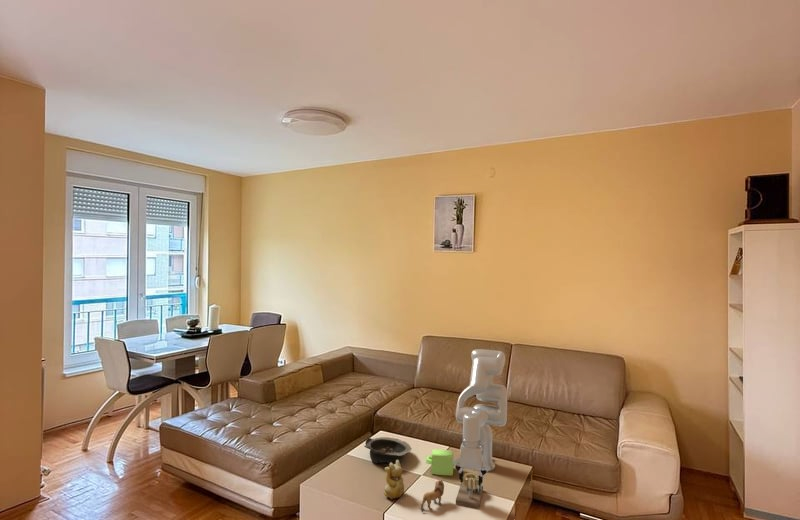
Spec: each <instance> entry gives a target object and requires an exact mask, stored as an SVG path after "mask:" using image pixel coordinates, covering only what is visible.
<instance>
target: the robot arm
mask: <svg viewBox="0 0 800 520" xmlns="http://www.w3.org/2000/svg"><path fill="white" fill-rule="evenodd" d="M470 357H471V361H472V365H471V370H470V371H471V372H470V377H469V384H468V385H467V387H465V388H464V389H463V390H462V392H460V395H459V396H458V398H457V403H456V407H455V408H456V409H455V420H456V422H458V423H460V424H462V442H461V443H460V448H459V457H457V458H455V459H453V465H454V466H453V467H454V468H455V469H456V470H457V472H458V474H459V475H458V479H459V480H460V484H461V483H462V481H463V475H464V469H465V470H471V471H477V472H478V476H479V486H481V483H482V484H483V483H484V482H483V478H484V476H485V475H486V474H487V473H488V472H492V471H493V470H495V468H496V464H495V462H494V461H493V431H492V428H491V426H495V427H504V426H505V425H507V418H508V390H507V387H506V386H505V385H503V384H499V383H498V384H497V383H494V376H501V375H502V373H503V370H504V368H505V364H506V354H505V353H504V351H502V350H494V349H483V348H479V349H478V348H477V349H473V350H472V351H471V354H470ZM473 396H476V397H475V398H476V399H477V400H478V401H480V402H484V403H492V404H497V405H491V404H484V403H477V404H474V406H471V407H470V406H464V405H465V402H466V400H468V399H469V398H470V397H473ZM457 462H459V465H458V464H457Z"/></svg>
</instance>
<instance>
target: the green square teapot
mask: <svg viewBox="0 0 800 520" xmlns="http://www.w3.org/2000/svg"><path fill="white" fill-rule="evenodd" d="M453 461H454V451H453V450H449V449H448V450H447V449H439V448H437V449H436V448H433V449H432V450H431V455H427V456H426V458H425V464H428V465H431V467H430V469H431V470H430V471H431V472H430V473H431V474H432V475H439V476H449V477H450V476H454V467H455V466H454V465H453ZM457 464H458V465H459V462H457Z"/></svg>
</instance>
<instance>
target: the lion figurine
mask: <svg viewBox="0 0 800 520" xmlns="http://www.w3.org/2000/svg"><path fill="white" fill-rule="evenodd" d="M434 484H435V485H434V489H433V490H431V491H427V492H425V493H424V494H423V496H422V497H423V498H422V501H421V503H420V510H421V513H424V504H425V503H427V508H428V510H429V511H433V507H431V503H432V501H433V503H434V504H436V503H437V500H438V505H439V506H442V501H441V500H442V496H443V495H444V493H445V492H444V491H445V484H444V482H443V481H442V479H438V480H437V481H435V483H434Z"/></svg>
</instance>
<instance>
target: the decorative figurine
mask: <svg viewBox="0 0 800 520" xmlns="http://www.w3.org/2000/svg"><path fill="white" fill-rule="evenodd" d="M400 462H401V461H400ZM400 462H399V460H396V464H393V463H390V464H389V463H388V465H389V466H386V467H384V471H386V476H385V482H386V483H387V484H385V486H384V492H383V494H384V496H386V497H387V498H389V499H391V500H392V501H394V500H396V499H398V498H401V497H402V495H403V494H404V492H405V484H404V477H403V476H402V475H403V468H402V467H401V463H400Z"/></svg>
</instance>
